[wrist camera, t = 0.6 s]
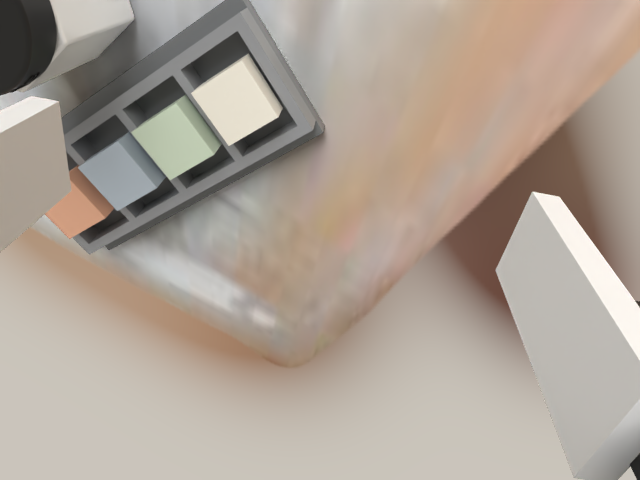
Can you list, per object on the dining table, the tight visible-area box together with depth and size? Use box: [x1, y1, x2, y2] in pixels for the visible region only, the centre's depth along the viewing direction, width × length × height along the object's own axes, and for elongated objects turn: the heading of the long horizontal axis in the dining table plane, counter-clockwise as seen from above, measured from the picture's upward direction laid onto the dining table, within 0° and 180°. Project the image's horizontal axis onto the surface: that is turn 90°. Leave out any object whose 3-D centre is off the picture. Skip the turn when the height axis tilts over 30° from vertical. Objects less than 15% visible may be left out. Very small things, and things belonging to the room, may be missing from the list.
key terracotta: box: [45, 165, 114, 239], centre depth 38 cm, size 4×4×2 cm
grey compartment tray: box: [61, 0, 325, 254], centre depth 37 cm, size 11×23×4 cm, turn 121°
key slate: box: [78, 131, 166, 211], centre depth 36 cm, size 4×4×2 cm
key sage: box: [131, 95, 221, 180], centre depth 34 cm, size 4×4×2 cm
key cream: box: [191, 54, 283, 146], centre depth 32 cm, size 4×4×2 cm
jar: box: [0, 0, 134, 95], centre depth 28 cm, size 9×8×12 cm
